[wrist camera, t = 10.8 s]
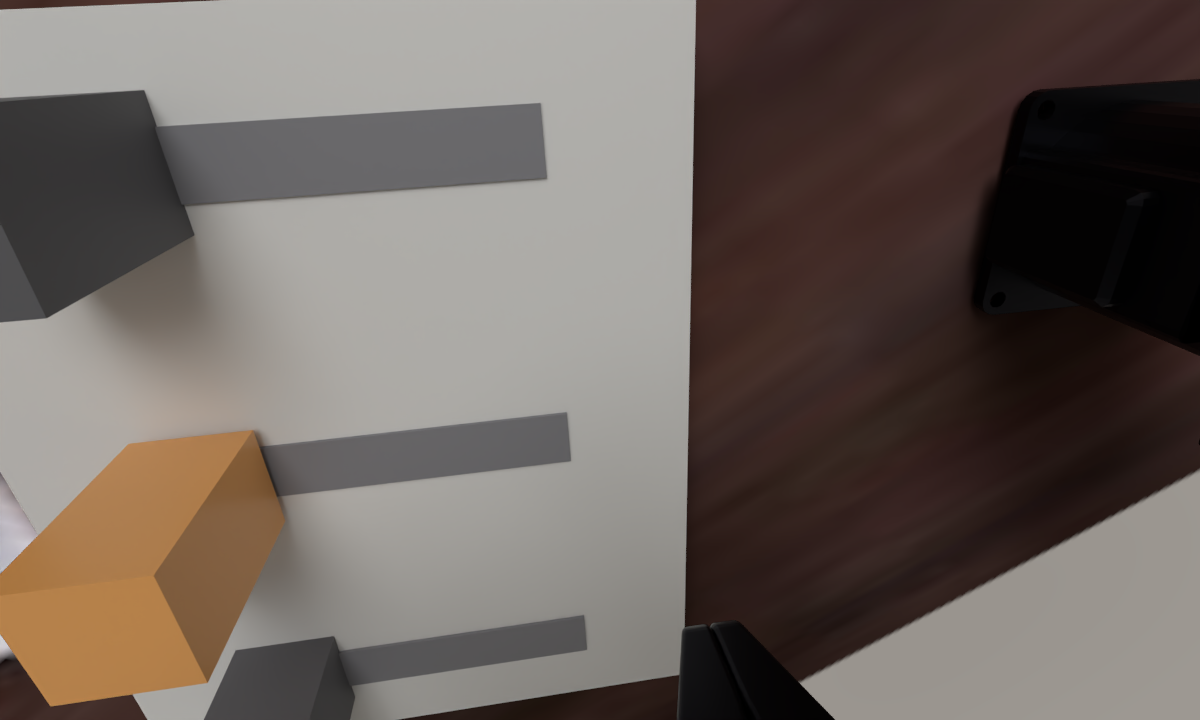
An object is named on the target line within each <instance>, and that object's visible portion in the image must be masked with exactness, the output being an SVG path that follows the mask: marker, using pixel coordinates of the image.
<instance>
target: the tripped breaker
mask: <svg viewBox="0 0 1200 720" xmlns="http://www.w3.org/2000/svg"><path fill="white" fill-rule="evenodd" d="M284 523H285V518H284V515H283V513H282V510H281V507H280V504H279V501H278V499H277V496H276V493H275V490H274V487H273V485H272V482H271V479H270V476H269V473H268V471H267V468H266V465H265V462H264V459H263V456H262V454H261V451H260V448H259V445H258V442H257V440H256V437H255V434H254V431H253V430H249V431H240V432H231V433H222V434H213V435H204V436H195V437H186V438H176V439H167V440H158V441H149V442H140V443H131V444H128V445H127V446H126V447H125V448H124V449H123V450H122V451H121V452H120V453H119V454H118V455H117V456H116V457H115V458H114V459H113V460H112V461H111V462H110V463H109V464H108V465H107V466H106V467H105V468H104V469H103V470H102V471H101V472H100V473H99V474H98V475H97V476H96V477H95V478H94V479H93V480H92V481H91V482H90V483H89V484H88V485H87V486H86V488H85V489H84V490H83V491H82V492H81V493H80V494H79V495H78V496H77V497H76V498H75V499H74V500H73V501H72V502H71V503H70V504H69V505H68V506H67V507H66V508H65V509H64V510H63V511H62V512H61V513H60V514H59V515H58V516H57V517H56V518H55V519H54V520H53V521H52V522H51V523H50V524H49V525H48V526H47V527H46V528H45V529H44V530H43V531H42V532H41V533H40V534H39V535H38V536H37V537H36V538H35V539H34V540H33V541H32V542H31V543H30V544H29V545H28V546H27V547H26V548H25V549H24V551H23V552H22V553H21V554H20V555H19V556H18V557H17V558H16V559H15V560H14V561H13V562H12V563H11V564H10V565H9V566H8V567H7V568H6V569H5V570H4V571H3V572H2V573H1V574H0V634H1V636H2V637H3V639H4V640H5V641H6V643H7V644H8V646H9V647H10V649H11V650H12V652H13V653H14V654H15V656H16V657H17V659H18V660H19V662H20V663H21V665H22V666H23V667H24V669H25V670H26V672H27V673H28V675H29V676H30V677H31V679H32V680H33V682H34V683H35V685H36V686H37V688H38V689H39V690H40V692H41V693H42V695H43V696H44V698H45V699H46V700H47V702H48V703H49V705H50V706H57V705H63V704H70V703H77V702H84V701H90V700H97V699H104V698H110V697H117V696H124V695H131V694H137V693H144V692H151V691H157V690H164V689H171V688H178V687H184V686H191V685H198V684H204V683H208V681H209V679H210V677H211V675H212V673H213V671H214V669H215V667H216V665H217V663H218V661H219V658H220V656H221V654H222V652H223V650H224V648H225V646H226V644H227V642H228V640H229V638H230V635H231V633H232V631H233V629H234V627H235V625H236V623H237V621H238V619H239V617H240V615H241V613H242V610H243V608H244V606H245V604H246V602H247V600H248V598H249V596H250V594H251V592H252V590H253V587H254V585H255V583H256V581H257V579H258V577H259V575H260V573H261V571H262V569H263V567H264V565H265V562H266V560H267V558H268V556H269V554H270V552H271V550H272V548H273V546H274V544H275V542H276V539H277V537H278V535H279V533H280V531H281V529H282V527H283V525H284Z"/></svg>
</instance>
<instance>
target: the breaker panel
mask: <svg viewBox="0 0 1200 720" xmlns="http://www.w3.org/2000/svg"><path fill="white" fill-rule="evenodd" d="M695 21H696V0H220V1H197V2H173V3H150V4H127V5H103V6H80V7H56V8H33V9H10V10H0V472H1V474H2V475H3V477H4V479H5V481H6V482H7V484H8V486H9V487H10V489H11V491H12V492H13V494H14V496H15V497H16V499H17V501H18V502H19V504H20V506H21V507H22V509H23V511H24V512H25V514H26V516H27V518H28V519H29V521H30V523H31V524H32V526H33V528H34V529H35V531H36V533H37V534H38V535H39V534H40V533H41V532H42V531H43V530H44V529H45V528H46V527H47V526H48V525H49V524H50V523H51V522H52V521H53V520H54V519H55V518H56V517H57V516H58V515H59V514H60V513H61V512H62V511H63V510H64V509H65V508H66V507H67V506H68V505H69V504H70V503H71V502H72V501H73V500H74V499H75V498H76V497H77V496H78V495H79V494H80V493H81V492H82V491H83V490H84V489H85V488H86V486H87V485H88V484H89V483H90V482H91V481H92V480H93V479H94V478H95V477H96V476H97V475H98V474H99V473H100V472H101V471H102V470H103V469H104V468H105V467H106V466H107V465H108V464H109V463H110V462H111V461H112V460H113V459H114V458H115V457H116V456H117V455H118V454H119V453H120V452H121V451H122V450H123V449H124V448H125V447H126V446H127V445H128V444H131V443H140V442H149V441H158V440H167V439H176V438H186V437H195V436H204V435H213V434H222V433H231V432H240V431H249V430H253V431H254V434H255V437H256V440H257V442H258V445H259V448H260V451H261V454H262V456H263V459H264V462H265V465H266V468H267V471H268V473H269V476H270V479H271V482H272V485H273V487H274V490H275V493H276V496H277V499H278V501H279V504H280V507H281V510H282V513H283V515H284V518H285V523H284V525H283V527H282V529H281V531H280V533H279V535H278V537H277V539H276V542H275V544H274V546H273V548H272V550H271V552H270V554H269V556H268V558H267V560H266V562H265V565H264V567H263V569H262V571H261V573H260V575H259V577H258V579H257V581H256V583H255V585H254V587H253V590H252V592H251V594H250V596H249V598H248V600H247V602H246V604H245V606H244V608H243V610H242V613H241V615H240V617H239V619H238V621H237V623H236V625H235V627H234V629H233V631H232V633H231V635H230V638H229V640H228V642H227V644H226V646H225V648H224V650H223V652H222V654H221V656H220V658H219V661H218V663H217V665H216V667H215V669H214V671H213V673H212V675H211V677H210V679H209V681H208V683H204V684H198V685H191V686H184V687H178V688H171V689H164V690H157V691H151V692H144V693H137V694H133V696H134V698H135V699H136V701H137V703H138V704H139V706H140V708H141V709H142V711H143V713H144V714H145V716H146V718H147V719H148V720H398V719H405V718H411V717H417V716H423V715H430V714H436V713H442V712H448V711H455V710H461V709H467V708H474V707H480V706H486V705H492V704H499V703H505V702H511V701H518V700H524V699H530V698H536V697H543V696H549V695H555V694H561V693H568V692H574V691H580V690H587V689H593V688H599V687H605V686H612V685H618V684H624V683H631V682H637V681H643V680H649V679H656V678H662V677H668V676H675V675H679V671H680V653H681V635H682V630H683V628H684V627H685V577H686V522H687V466H688V410H689V355H690V299H691V243H692V188H693V132H694V76H695Z"/></svg>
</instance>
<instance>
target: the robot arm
mask: <svg viewBox="0 0 1200 720" xmlns="http://www.w3.org/2000/svg"><path fill="white" fill-rule="evenodd" d="M1042 103H1044V109H1043V111H1042V113H1041V114H1040V115H1039V116H1038V109H1039V107H1040V105H1041V104H1042ZM995 294H997V295H996V297H995V299H993V300H992V301H991V302H990V300H991V298H992V296H993V295H995ZM974 303H975V305H976V307H977V308H979V309H980V310H982V311H984V312H986V313H988V314H993V315H995V314H1005V313H1015V312H1024V311H1034V310H1043V309H1053V308H1063V307H1072V306H1084V307H1086V308H1089V309H1091V310H1093V311H1096V312H1098V313H1100V314H1103V315H1105V316H1107V317H1110V318H1112V319H1114V320H1117V321H1119V322H1121V323H1124V324H1126V325H1128V326H1131V327H1133V328H1135V329H1138V330H1140V331H1142V332H1145V333H1147V334H1149V335H1152V336H1154V337H1157V338H1159V339H1161V340H1164V341H1166V342H1168V343H1171V344H1173V345H1175V346H1178V347H1180V348H1182V349H1185V350H1187V351H1189V352H1192V353H1194V354H1196V355H1199V356H1200V79H1194V80H1178V81H1163V82H1147V83H1132V84H1117V85H1101V86H1086V87H1070V88H1055V89H1040V90H1036V91H1033V92H1032V93H1030V94H1029V95H1027V96H1026V98H1025V99H1024V100H1023V101H1022V103H1021V105H1020V108H1019V110H1018V115H1017V119H1016V123H1015V127H1014V131H1013V136H1012V140H1011V144H1010V148H1009V153H1008V157H1007V161H1006V165H1005V169H1004V174H1003V178H1002V182H1001V186H1000V191H999V195H998V199H997V203H996V207H995V212H994V216H993V220H992V224H991V229H990V233H989V237H988V241H987V245H986V250H985V254H984V258H983V262H982V267H981V271H980V275H979V279H978V283H977V288H976V292H975V296H974ZM1199 445H1200V440H1199ZM677 720H835V719H834V718H833V717H832V716H831V715H830V714H829V713H828V712H827V711H826V710H825V709H824V708H823V707H822V706H821V705H820V704H819V703H818V702H817V701H816V700H815V699H814V698H813V697H812V696H811V695H810V694H809V693H808V692H807V690H805V688H804V687H802V685H801V684H800V683H799V682H798V681H797V680H796V679H795V678H794V677H793V676H792V675H791V674H790V673H789V672H788V671H787V670H786V669H785V668H784V667H783V666H782V665H781V664H780V663H779V662H778V661H777V660H776V659H775V658H774V657H773V656H772V655H771V654H770V653H769V652H768V651H767V650H766V648H765V647H764V646H763V645H762V644H761V643H760V642H759V641H758V640H757V639H756V638H755V637H754V636H753V635H752V634H751V633H750V632H749V631H748V630H747V629H746V628H745V627H744V626H743V625H742V624H741V623H740V622H738V621H736V620H730V621H724V622H717V623H713V624H711V626H710V627H709V626H708V625H705V624H703V625H696V626H689V627H684V628H683V630H682V635H681V653H680V671H679V690H678V708H677Z"/></svg>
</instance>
